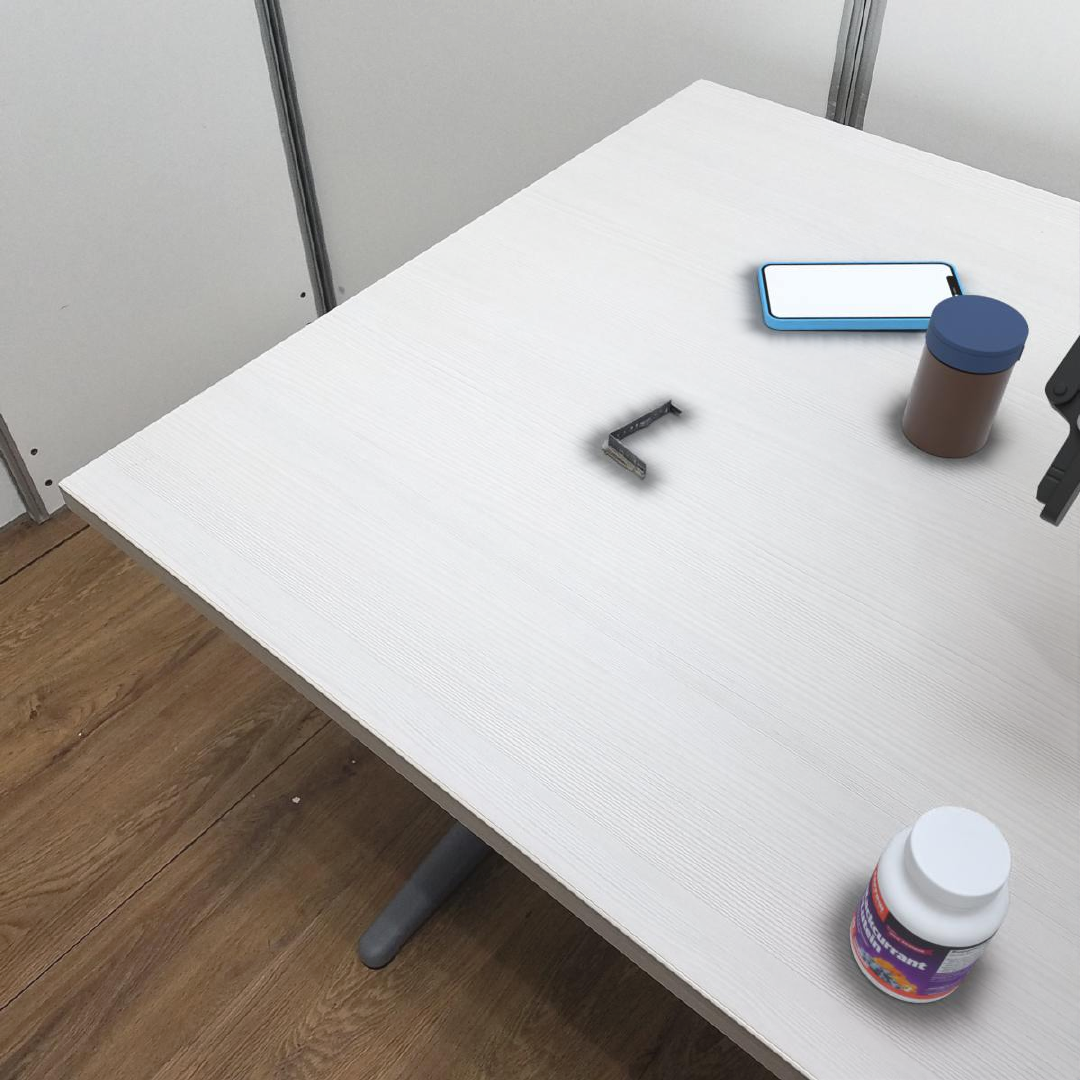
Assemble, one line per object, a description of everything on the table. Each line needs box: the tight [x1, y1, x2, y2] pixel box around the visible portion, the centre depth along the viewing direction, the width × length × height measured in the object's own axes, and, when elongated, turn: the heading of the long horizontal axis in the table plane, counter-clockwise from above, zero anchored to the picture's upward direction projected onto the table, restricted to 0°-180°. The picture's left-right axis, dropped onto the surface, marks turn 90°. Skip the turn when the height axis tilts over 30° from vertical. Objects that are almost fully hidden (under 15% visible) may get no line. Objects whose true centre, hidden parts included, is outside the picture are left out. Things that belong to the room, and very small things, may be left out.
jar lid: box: [924, 294, 1030, 373], centre depth 72 cm, size 6×6×2 cm
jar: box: [901, 340, 1016, 459], centre depth 75 cm, size 6×6×8 cm
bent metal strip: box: [601, 398, 683, 480], centre depth 77 cm, size 7×1×5 cm
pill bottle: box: [849, 805, 1013, 1004], centre depth 50 cm, size 5×5×10 cm
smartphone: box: [757, 260, 966, 331], centre depth 87 cm, size 8×1×15 cm
